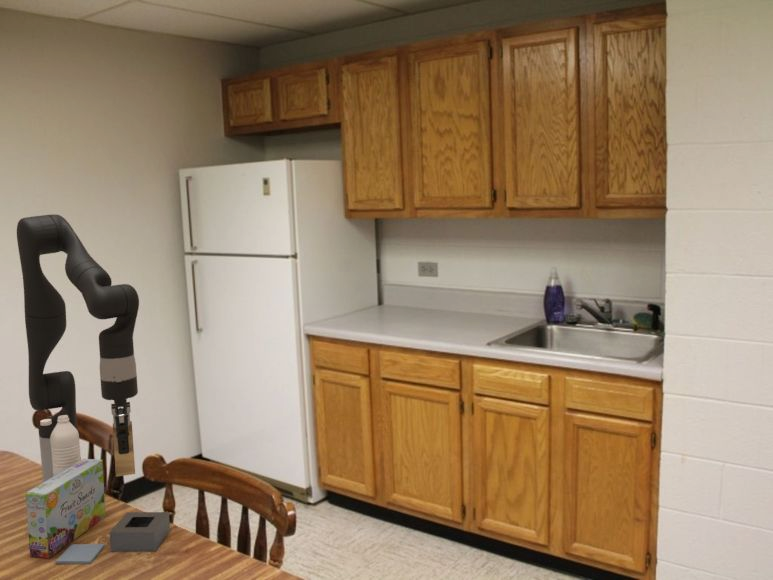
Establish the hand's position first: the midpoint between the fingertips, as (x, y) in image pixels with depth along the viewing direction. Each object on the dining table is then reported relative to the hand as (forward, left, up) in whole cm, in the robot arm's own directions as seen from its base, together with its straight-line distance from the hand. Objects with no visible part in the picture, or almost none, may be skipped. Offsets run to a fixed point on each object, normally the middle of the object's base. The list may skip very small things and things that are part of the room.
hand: (123, 449), depth 160 cm
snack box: (-3, -15, -22) cm, 27 cm away
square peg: (0, 0, -5) cm, 5 cm away
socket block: (-1, +2, -22) cm, 22 cm away
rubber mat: (+6, -9, -22) cm, 24 cm away
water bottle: (-15, -22, -22) cm, 34 cm away
